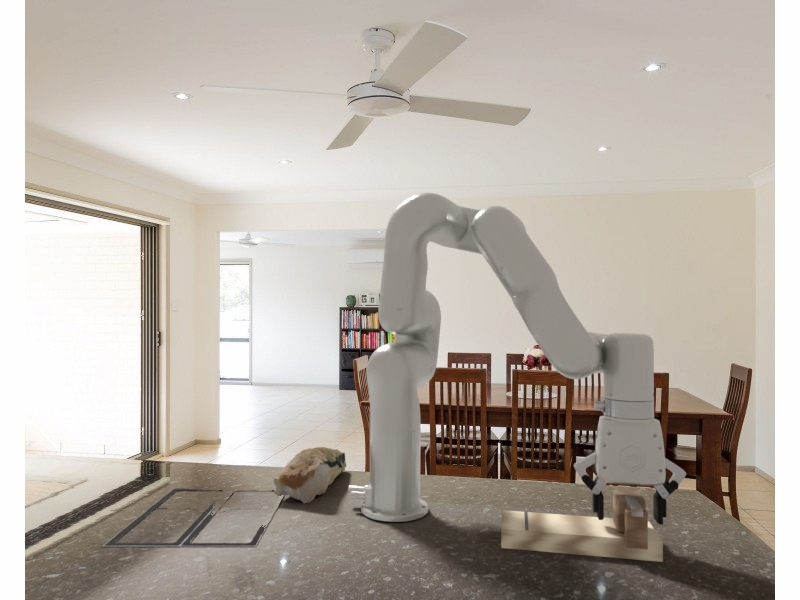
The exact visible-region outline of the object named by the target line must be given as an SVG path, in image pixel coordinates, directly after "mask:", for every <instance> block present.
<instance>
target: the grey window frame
mask: <svg viewBox="0 0 800 600" xmlns="http://www.w3.org/2000/svg"><path fill="white" fill-rule="evenodd" d="M199 488H200V487H199ZM199 488H192V487H191V488H190V487H189V488H187V487H186V488H182V487H181V488H178V487H177V488H176V487H175V488H172V489H171V490H170V491H169V492H167V493H166V494H165V495H164V496H162V497H161V498H160V499H158V501H156V502H155V503H154V504H152V505H151V506H150V507H149V508H147V510H145V511H144V512H142V513H141V514H140V515H139V516H137V517H136V518H135V519H134V520H132V522H130V523H129V524H127V525H126V526H125V527H124V528H123V529H122V530H120V531H119V532H118V533H117V534H115V535H114V536H113V537H111V538H110V539H109V540H108V541H107V542H106V543H104V544H103V545H102V548H257V546H258V545H257V544H259V543H258V542H260V541H261V539H262V538H263V536H264V534H265V532H266V530H267V529H265V528H266V527H265V526H266V525H265V526H264V527H265V528H264V527H262V526H263V525H262V526H261V525H260V526H261V527H260V526H259V527H258V529H257V531H256V532H255V535H254V536H253V538H252V539H251V541H250V542H245V543H244V542H193V541H194V540H195V539H196V537H197V536H199V534H200V533H201V532H202V531H203V529H205V527H206V526H207V525H208V524H209V522H210V521H211V520H212V519H213V518H214V517H213V516H212V515H211V513H212V511H213V510H214V509H213V507H212V506H213V504H214V503H213V504H212V502H214V500H213V501H212V502H211V503H210V504H212V505H210V506H209V507H206V508H205V510H203V511H204V512H203V513H202V514H201V513H200V515H199V516H198V517H197V519H195V521H194V522H193V523H191V525H190V526H189V527H188V528H187V529H186V530H185V531H184V532H183V533H182V534H181V536H180V537H178V539H177V540H176V541H175V542H118V541H120V540H121V538H123V537H124V536H125V535H127V534H128V533H129V532H130V531H131V530H133V529H134V528H135V527H136V526H137V525H139V524H140V523H141V522H142V521H143V520H145V519H146V518H147V517H148V516H149V515H151V514H152V513H153V512H154V511H156V510H168V509H167V508H168V507H160V506H161V505H163V504H164V503H165V502H166V501H168V500H169V499H170V498H171V497H172V496H173V495H174V494H176V493H177V492H198V491H197V490H202V489H199ZM189 490H190V491H189ZM192 490H193V491H192ZM195 490H196V491H195ZM176 491H177V492H176ZM175 492H176V493H175ZM170 496H171V497H170ZM169 497H170V498H169ZM163 502H164V503H163ZM214 506H215V505H214ZM156 508H157V509H156ZM212 509H213V510H212ZM151 512H152V513H151ZM209 514H210V515H209ZM212 514H213V513H212ZM145 517H146V518H145ZM212 517H213V518H212ZM211 518H212V519H211ZM210 519H211V520H210ZM209 520H210V521H209ZM207 523H208V524H207ZM206 524H207V525H206ZM205 525H206V526H205ZM264 529H265V530H264ZM201 530H202V531H201ZM200 531H201V532H200ZM264 531H265V532H264ZM199 532H200V533H199ZM263 533H264V534H263ZM262 535H263V536H262Z"/></svg>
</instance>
